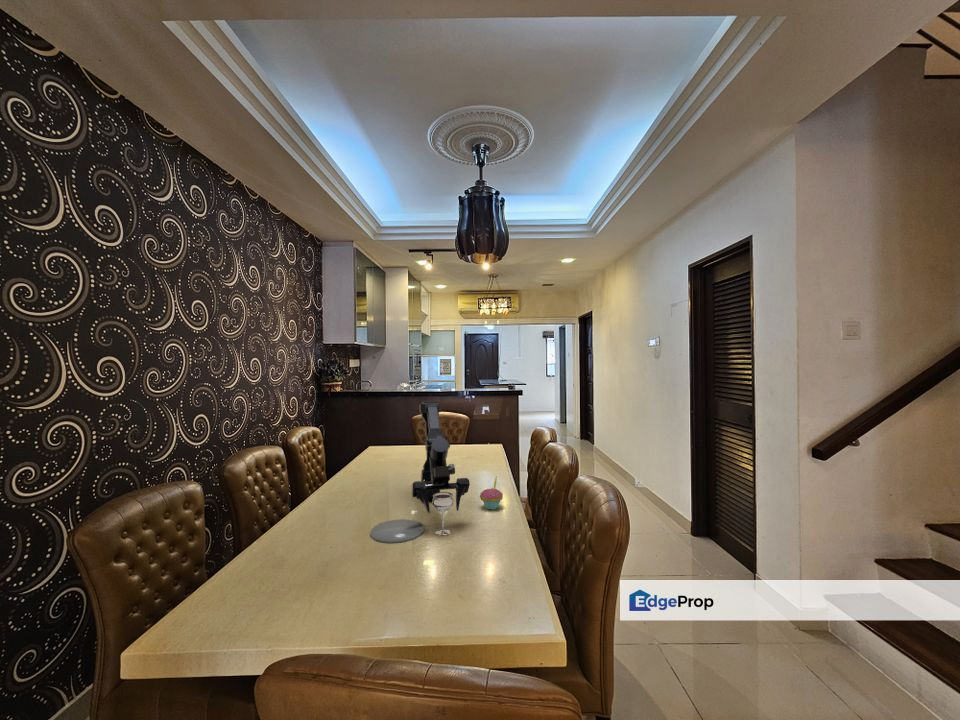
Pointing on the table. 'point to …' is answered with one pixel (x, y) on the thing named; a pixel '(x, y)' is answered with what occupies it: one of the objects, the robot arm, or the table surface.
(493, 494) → the cupcake
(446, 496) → the wineglass
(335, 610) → the table surface
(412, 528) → the slate plate
